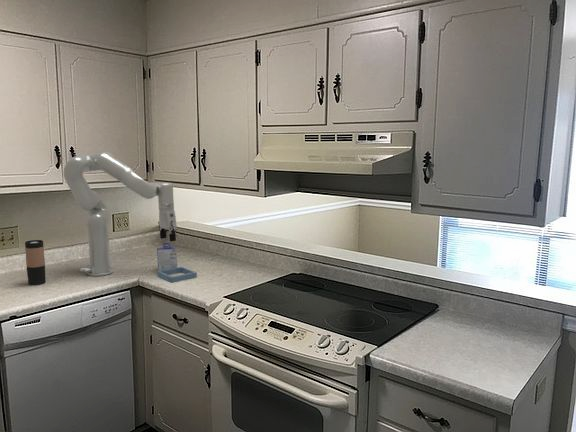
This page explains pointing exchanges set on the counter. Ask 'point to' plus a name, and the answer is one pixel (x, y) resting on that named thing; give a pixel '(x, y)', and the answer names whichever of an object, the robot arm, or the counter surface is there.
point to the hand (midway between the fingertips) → (168, 239)
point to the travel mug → (35, 262)
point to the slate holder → (188, 275)
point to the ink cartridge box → (167, 257)
